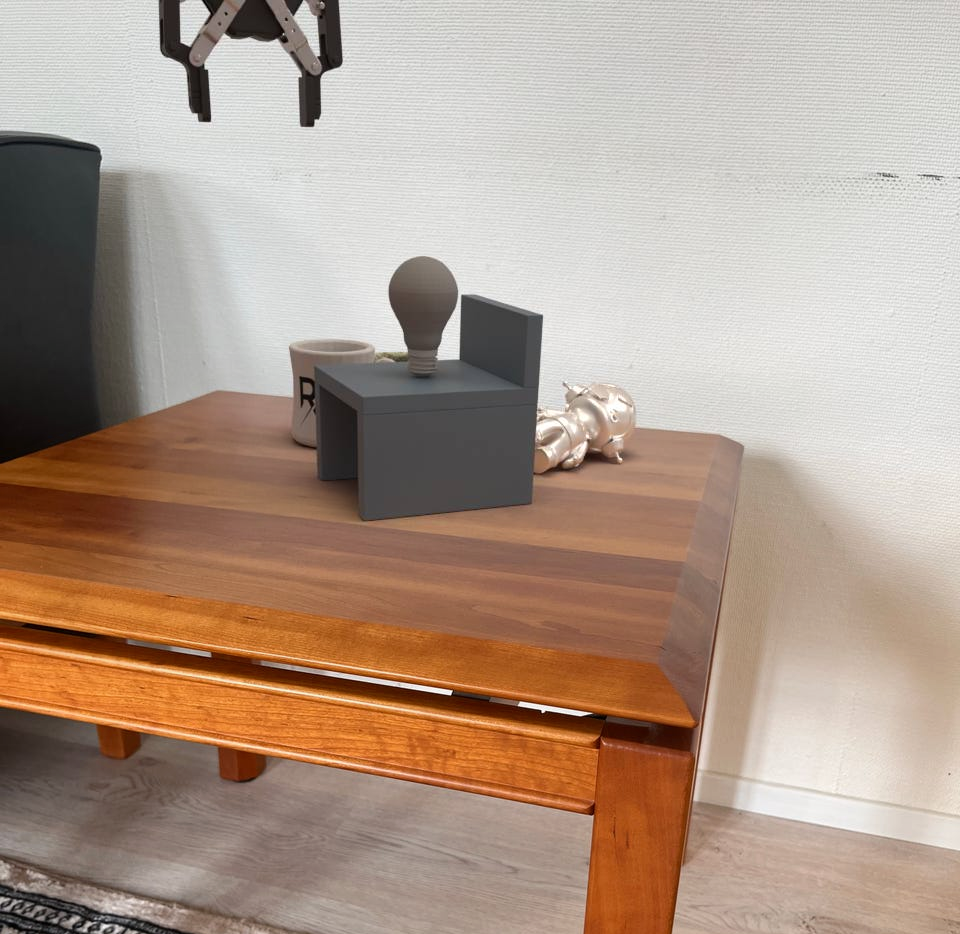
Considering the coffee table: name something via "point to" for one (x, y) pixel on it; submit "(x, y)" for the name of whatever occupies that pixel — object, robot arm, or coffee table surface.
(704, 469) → the coffee table surface
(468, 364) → the grey toy chair
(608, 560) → the coffee table surface
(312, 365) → the mug
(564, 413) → the figurine
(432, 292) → the light bulb
